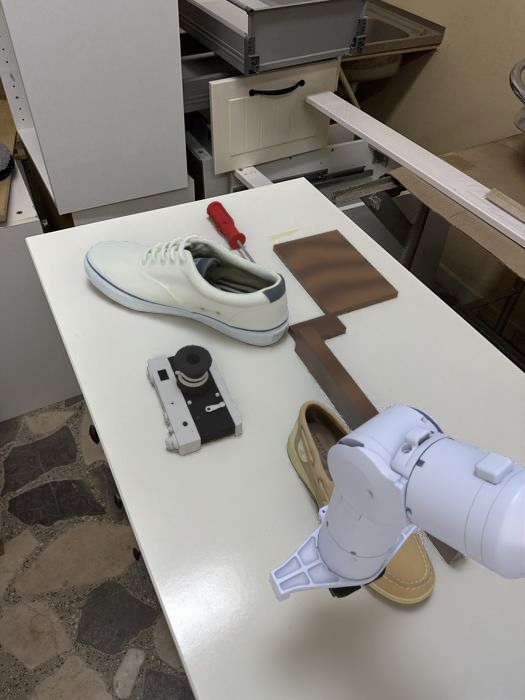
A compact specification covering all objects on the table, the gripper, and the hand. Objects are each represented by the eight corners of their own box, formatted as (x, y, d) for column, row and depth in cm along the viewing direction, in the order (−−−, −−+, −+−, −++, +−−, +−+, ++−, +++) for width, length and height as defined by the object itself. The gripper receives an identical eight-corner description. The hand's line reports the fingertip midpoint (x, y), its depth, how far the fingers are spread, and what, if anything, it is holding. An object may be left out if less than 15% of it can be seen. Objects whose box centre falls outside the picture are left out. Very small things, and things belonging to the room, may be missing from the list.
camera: (246, 403, 64) (166, 427, 61) (243, 435, 69) (170, 459, 66) (204, 321, 73) (133, 338, 70) (205, 354, 78) (139, 372, 75)
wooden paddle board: (583, 488, 67) (602, 470, 64) (447, 564, 59) (461, 548, 56) (336, 234, 102) (339, 214, 99) (230, 260, 95) (230, 240, 91)
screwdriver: (259, 295, 89) (260, 278, 86) (205, 217, 103) (205, 201, 101) (277, 290, 90) (279, 274, 87) (221, 213, 105) (221, 198, 102)
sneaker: (113, 251, 94) (102, 188, 85) (301, 305, 87) (311, 243, 78) (71, 294, 85) (54, 229, 76) (276, 358, 79) (284, 295, 70)
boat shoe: (387, 628, 54) (408, 602, 48) (263, 448, 68) (268, 411, 62) (448, 584, 58) (474, 555, 52) (318, 421, 72) (328, 384, 66)
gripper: (405, 449, 46) (371, 519, 56) (256, 514, 41) (248, 578, 51) (458, 518, 42) (412, 580, 51) (300, 600, 37) (282, 652, 46)
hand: (333, 584), depth 51 cm, fingers closed
